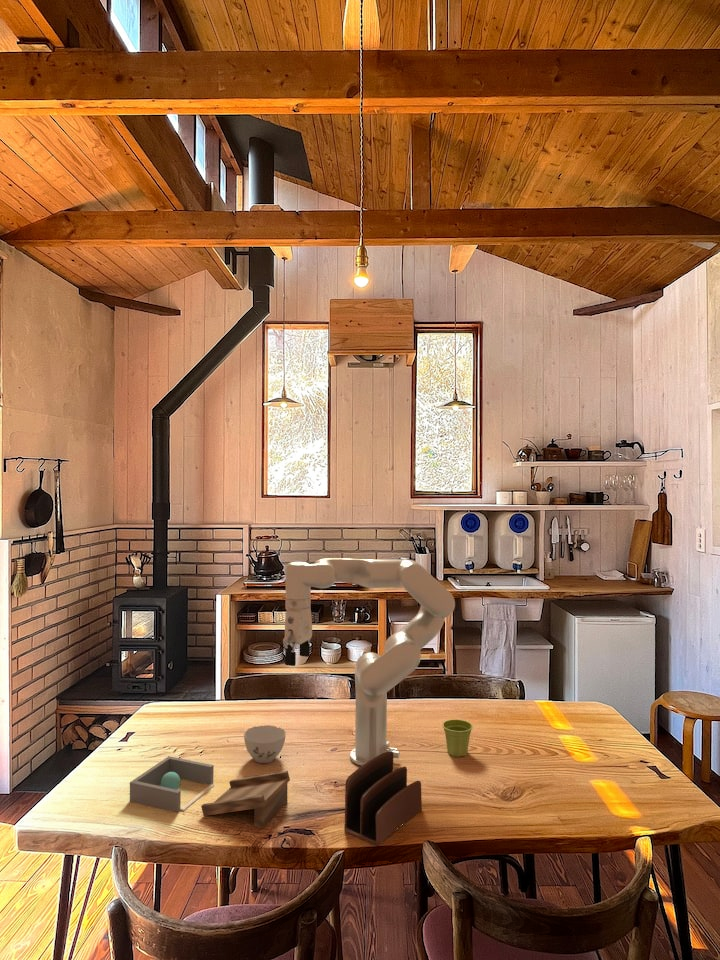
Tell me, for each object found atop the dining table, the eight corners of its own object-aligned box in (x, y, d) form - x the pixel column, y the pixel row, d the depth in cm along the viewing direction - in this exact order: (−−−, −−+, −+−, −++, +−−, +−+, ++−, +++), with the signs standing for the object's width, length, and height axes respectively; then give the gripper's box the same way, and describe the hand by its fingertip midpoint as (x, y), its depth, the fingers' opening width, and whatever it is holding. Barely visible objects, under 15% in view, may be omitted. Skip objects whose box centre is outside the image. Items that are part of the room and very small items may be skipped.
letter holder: (343, 832, 147) (344, 773, 147) (390, 798, 163) (390, 745, 163) (377, 847, 141) (377, 787, 141) (422, 810, 157) (422, 756, 156)
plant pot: (437, 755, 187) (437, 727, 187) (448, 743, 196) (448, 716, 196) (467, 762, 183) (467, 733, 183) (476, 750, 191) (476, 722, 191)
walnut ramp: (290, 801, 160) (290, 771, 160) (263, 830, 147) (264, 797, 147) (231, 788, 166) (231, 759, 166) (201, 815, 153) (201, 783, 153)
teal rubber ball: (186, 784, 166) (180, 766, 167) (174, 793, 161) (168, 774, 162) (172, 789, 168) (166, 771, 168) (160, 797, 163) (154, 779, 164)
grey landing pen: (216, 783, 169) (216, 765, 169) (180, 813, 154) (180, 793, 154) (168, 773, 175) (168, 756, 175) (129, 801, 160) (129, 782, 160)
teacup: (279, 770, 177) (280, 742, 177) (238, 767, 179) (238, 740, 178) (291, 747, 192) (291, 722, 192) (252, 745, 193) (252, 720, 193)
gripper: (296, 610, 173) (296, 670, 173) (321, 599, 189) (320, 654, 190) (273, 608, 176) (272, 667, 176) (299, 597, 192) (298, 651, 192)
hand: (297, 660), depth 183 cm, fingers open, 9 cm apart
